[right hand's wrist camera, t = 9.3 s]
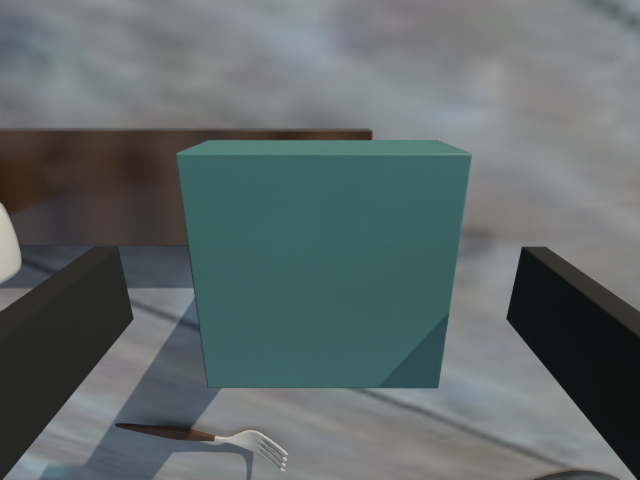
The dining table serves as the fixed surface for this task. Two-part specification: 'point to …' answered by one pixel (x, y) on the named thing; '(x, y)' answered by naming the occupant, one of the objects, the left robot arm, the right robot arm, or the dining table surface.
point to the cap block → (323, 259)
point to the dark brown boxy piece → (110, 181)
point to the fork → (213, 438)
